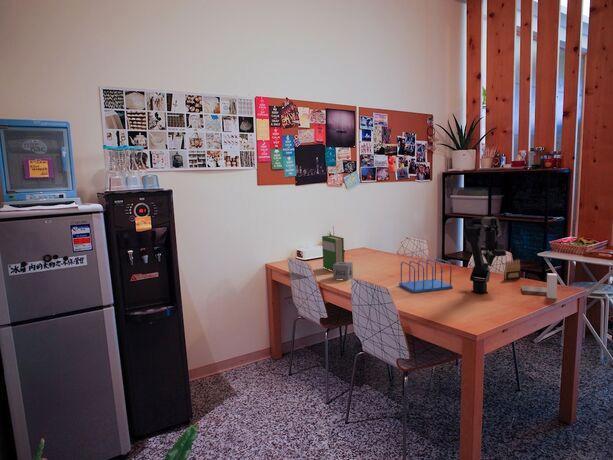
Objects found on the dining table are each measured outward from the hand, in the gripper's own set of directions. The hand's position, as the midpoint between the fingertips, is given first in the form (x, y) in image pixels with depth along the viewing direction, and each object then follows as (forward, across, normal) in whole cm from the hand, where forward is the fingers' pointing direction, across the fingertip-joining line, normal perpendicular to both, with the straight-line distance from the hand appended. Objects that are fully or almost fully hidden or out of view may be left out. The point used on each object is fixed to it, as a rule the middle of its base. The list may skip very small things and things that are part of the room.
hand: (489, 265), depth 231 cm
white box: (+12, -26, -16) cm, 33 cm away
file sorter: (+12, +13, +34) cm, 38 cm away
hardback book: (+12, +78, +68) cm, 104 cm away
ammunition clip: (+12, +8, -23) cm, 27 cm away
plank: (+12, -20, -14) cm, 27 cm away
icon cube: (+12, +52, +71) cm, 88 cm away
